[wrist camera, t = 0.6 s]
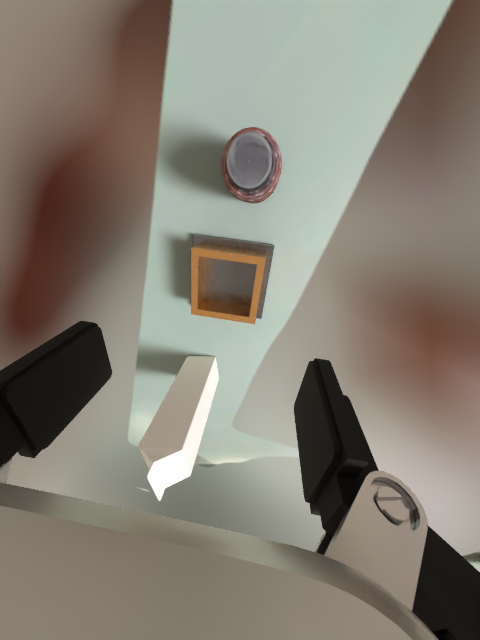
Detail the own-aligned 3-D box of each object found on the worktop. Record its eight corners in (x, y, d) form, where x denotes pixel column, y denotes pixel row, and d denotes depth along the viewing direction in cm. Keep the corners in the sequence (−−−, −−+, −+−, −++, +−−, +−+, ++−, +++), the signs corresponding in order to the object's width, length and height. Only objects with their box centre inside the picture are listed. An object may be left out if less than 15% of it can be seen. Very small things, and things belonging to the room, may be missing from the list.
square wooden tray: (195, 234, 32) (183, 238, 28) (274, 245, 31) (274, 251, 27) (194, 305, 38) (185, 318, 33) (261, 316, 37) (260, 330, 33)
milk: (215, 355, 43) (173, 478, 23) (219, 378, 46) (183, 505, 26) (186, 355, 44) (122, 473, 24) (191, 377, 46) (137, 499, 27)
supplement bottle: (237, 207, 30) (221, 207, 20) (228, 155, 27) (205, 126, 17) (280, 198, 29) (286, 193, 19) (275, 143, 26) (279, 103, 16)
